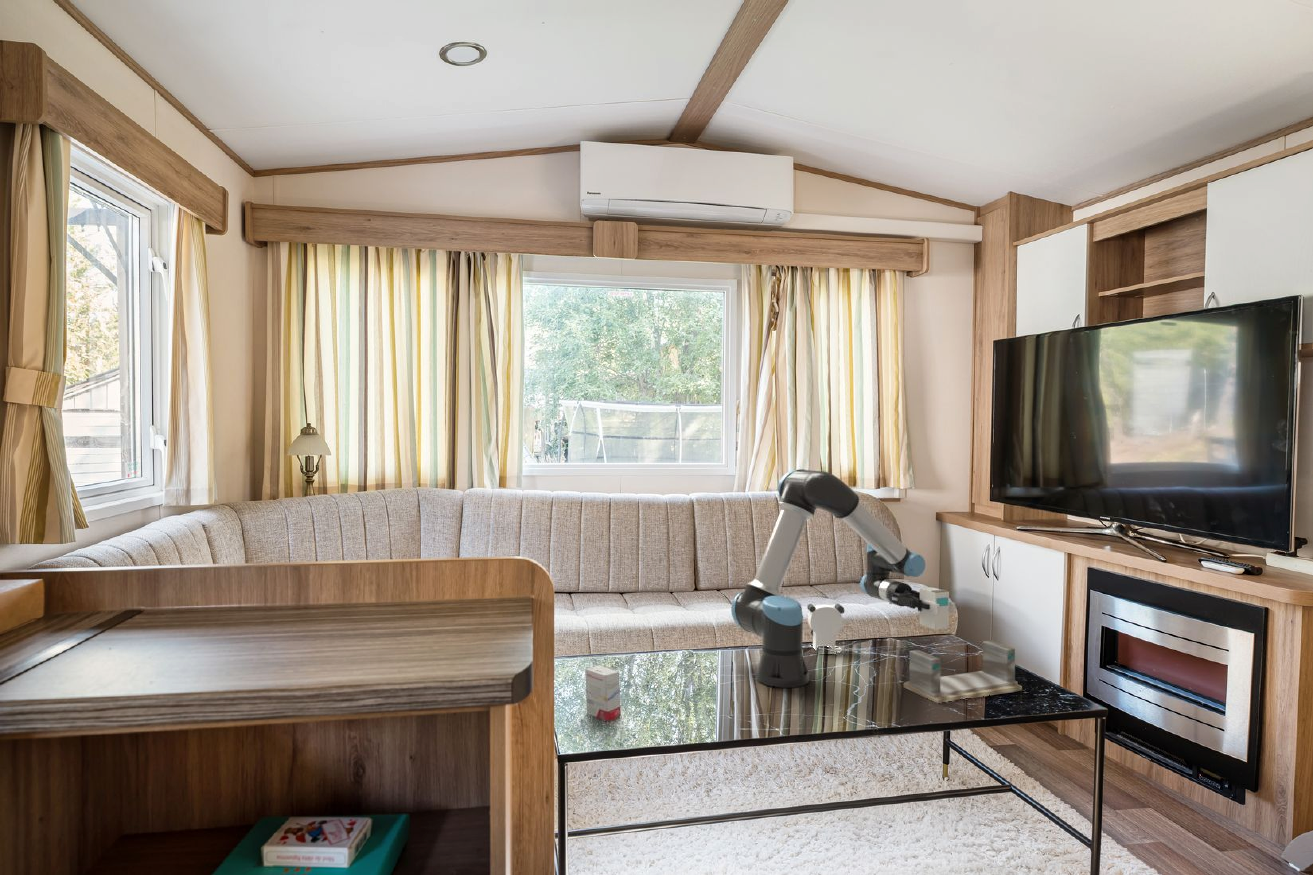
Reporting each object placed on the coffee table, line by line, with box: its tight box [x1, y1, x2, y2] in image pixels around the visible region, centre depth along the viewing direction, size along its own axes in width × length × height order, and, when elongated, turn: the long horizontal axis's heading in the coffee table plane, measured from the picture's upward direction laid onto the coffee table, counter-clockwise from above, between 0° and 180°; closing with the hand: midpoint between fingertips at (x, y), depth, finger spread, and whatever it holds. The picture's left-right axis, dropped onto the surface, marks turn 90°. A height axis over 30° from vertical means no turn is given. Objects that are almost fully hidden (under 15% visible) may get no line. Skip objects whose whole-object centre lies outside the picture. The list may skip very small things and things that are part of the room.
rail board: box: [903, 640, 1023, 704], centre depth 214 cm, size 29×14×11 cm, turn 110°
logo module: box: [919, 586, 950, 631], centre depth 230 cm, size 5×7×11 cm
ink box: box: [584, 664, 622, 722], centre depth 196 cm, size 9×5×12 cm, turn 44°
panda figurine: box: [806, 603, 845, 655], centre depth 252 cm, size 12×11×15 cm
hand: (946, 608), depth 225 cm, fingers closed on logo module, 5 cm apart
